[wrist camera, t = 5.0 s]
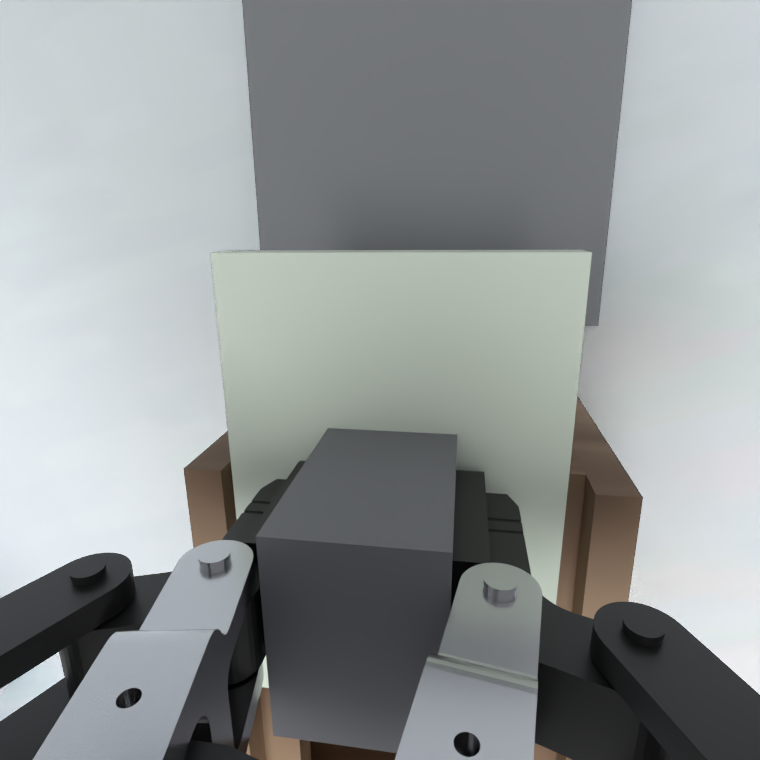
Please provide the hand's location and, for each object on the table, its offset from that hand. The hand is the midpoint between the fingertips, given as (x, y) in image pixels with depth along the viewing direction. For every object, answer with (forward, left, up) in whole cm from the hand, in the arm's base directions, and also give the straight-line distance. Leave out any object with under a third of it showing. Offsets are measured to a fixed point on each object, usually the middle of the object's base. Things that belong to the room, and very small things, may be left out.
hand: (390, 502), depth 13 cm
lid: (0, 0, -1) cm, 1 cm away
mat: (-10, 0, -8) cm, 13 cm away
